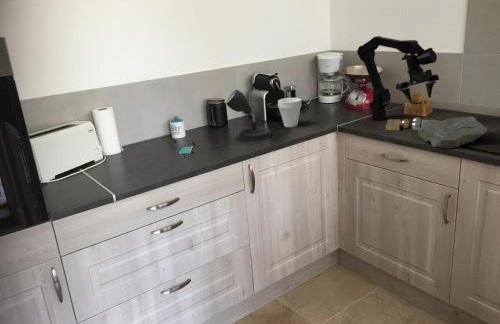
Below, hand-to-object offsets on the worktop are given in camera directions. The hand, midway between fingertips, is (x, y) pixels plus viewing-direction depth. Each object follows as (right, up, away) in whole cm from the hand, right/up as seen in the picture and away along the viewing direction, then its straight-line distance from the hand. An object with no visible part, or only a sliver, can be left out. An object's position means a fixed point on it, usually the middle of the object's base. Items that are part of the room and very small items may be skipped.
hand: (420, 100), depth 203 cm
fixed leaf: (+1, -13, -1) cm, 13 cm away
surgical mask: (-110, -24, -3) cm, 113 cm away
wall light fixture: (-81, -17, +9) cm, 83 cm away
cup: (-59, -10, +24) cm, 65 cm away
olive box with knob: (-9, -13, +4) cm, 16 cm away
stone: (+5, -21, -22) cm, 30 cm away
